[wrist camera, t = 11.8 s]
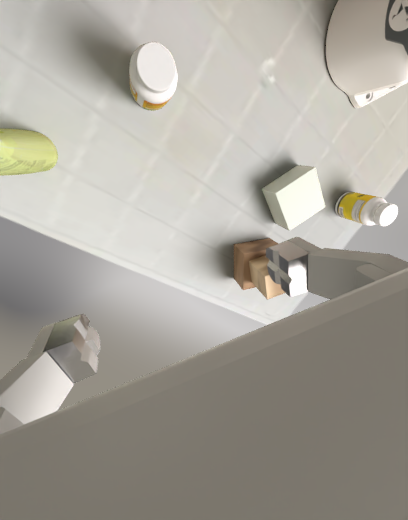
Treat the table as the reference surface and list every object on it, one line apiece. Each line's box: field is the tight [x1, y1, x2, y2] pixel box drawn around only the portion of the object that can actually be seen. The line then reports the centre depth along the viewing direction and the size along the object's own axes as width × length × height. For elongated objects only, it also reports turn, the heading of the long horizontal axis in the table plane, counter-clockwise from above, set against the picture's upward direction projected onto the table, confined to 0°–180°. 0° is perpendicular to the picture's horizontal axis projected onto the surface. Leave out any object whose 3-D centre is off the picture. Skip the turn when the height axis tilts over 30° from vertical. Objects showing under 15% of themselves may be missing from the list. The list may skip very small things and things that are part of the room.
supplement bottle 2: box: [335, 192, 398, 226], centre depth 45 cm, size 5×5×10 cm
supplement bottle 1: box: [129, 42, 178, 111], centre depth 28 cm, size 5×5×10 cm
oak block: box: [249, 255, 285, 300], centre depth 42 cm, size 5×5×6 cm
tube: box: [0, 129, 58, 175], centre depth 23 cm, size 6×5×20 cm
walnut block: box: [234, 238, 278, 290], centre depth 47 cm, size 8×8×5 cm
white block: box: [262, 165, 325, 231], centre depth 43 cm, size 8×8×5 cm
